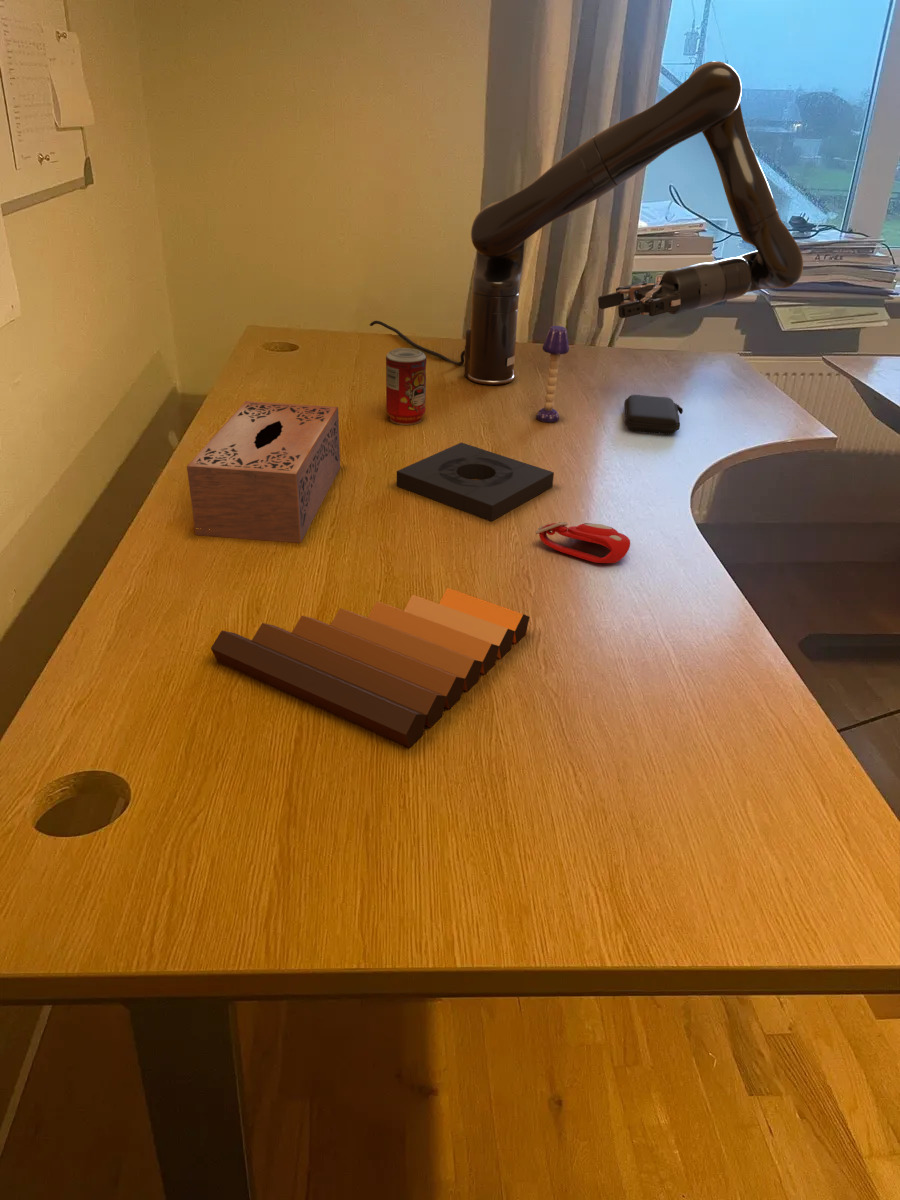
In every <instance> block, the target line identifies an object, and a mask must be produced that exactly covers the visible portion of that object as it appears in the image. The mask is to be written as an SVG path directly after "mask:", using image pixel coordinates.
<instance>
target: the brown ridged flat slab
mask: <svg viewBox="0 0 900 1200" xmlns="http://www.w3.org/2000/svg"><path fill="white" fill-rule="evenodd" d="M530 618H531V617H530V616H529V615H526V614H524V613H521V612H518V611H515V610H513V609H509V608H506V607H504V606H501V605H499V604H495V603H493V602H490V601H486V600H483V599H481V598H478V597H475V596H472V595H470V594H466V593H463V592H460V591H458V590H455V589H452V588H449V587H447V588H446V590H445V592H444V593H443V596H442V597H441V599H440V601H439V603H437V602H435V601H433V600H429V599H427V598H423V597H421V596H418V595H416V594H412V595H411V596H410V598H409V601H408V603H406V606H405V608H404V610H403V609H400V608H398V607H394V606H392V605H390V604H387V603H383V602H381V601H376V602H375V603H374V605H373V607H372V609H371V611H370V613H369V614H368V616H365V615H361V614H359V613H356V612H353V611H350V610H347V609H344V608H341V607H340V608H339V609H338V610H337V612H336V614H335V615H334V617H333V619H332V621H331V623H330V624H328V623H326V622H323V621H321V620H318V619H316V618H313V617H310V616H306V615H301V616H300V617H299V619H298V620H297V622H296V624H295V626H294V628H293V629H292V631H289V630H286V629H284V628H282V627H280V626H277V625H274V624H269V623H265V622H261V624H260V626H259V627H258V629H257V631H256V632H255V634H254V636H253V637H252V639H249V638H247V637H245V636H242V635H240V634H238V633H236V632H231V631H227V630H221V631H219V634H218V636H217V637H216V639H215V640H214V642H213V644H212V646H211V647H210V650H211V651H212V654H213V655H214V657H215V660H216V662H218V663H220V664H222V665H224V666H227V667H229V668H231V669H233V670H235V671H238V672H240V673H242V674H245V675H246V676H249V677H251V678H252V679H253V678H254V679H255V680H258V681H260V682H262V683H265V684H266V685H269V686H271V687H273V688H275V689H278V690H280V691H282V692H284V693H287V694H289V695H291V696H294V697H296V698H298V699H300V700H302V701H304V702H306V703H309V704H311V705H312V706H315V707H318V708H319V709H323V710H324V711H327V712H329V713H331V714H333V715H336V716H338V717H340V718H342V719H345V720H346V721H349V722H350V723H353V724H356V725H357V726H360V727H362V728H364V729H367V730H368V731H371V732H372V733H375V734H378V735H379V736H382V737H384V738H386V739H389V740H391V741H394V742H396V743H397V744H399V745H402V746H404V747H407V748H408V749H410V748H412V747H413V746H414V745H415V744H416V743H417V742H418V741H419V740H420V739H421V738H422V737H423V735H424V731H425V727H426V728H429V729H431V728H432V727H433V726H434V725H435V724H436V723H437V722H438V721H439V720H440V719H441V718H442V717H443V715H444V709H448V710H451V708H452V707H453V706H455V705H456V703H458V702H459V701H460V700H461V699H462V695H463V691H465V692H469V691H470V690H471V689H473V687H474V686H475V685H476V684H477V683H478V682H479V679H480V675H481V674H482V675H487V673H489V672H490V670H492V668H494V666H495V665H496V662H497V658H498V659H500V660H501V659H503V657H505V656H506V655H507V654H508V653H509V652H510V651H511V650H512V645H513V644H516V645H517V644H518V643H519V642H520V641H521V640H522V639H523V638H524V637H525V636H526V635H527V630H528V626H529V621H530Z"/></svg>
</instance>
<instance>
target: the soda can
mask: <svg viewBox="0 0 900 1200" xmlns="http://www.w3.org/2000/svg"><path fill="white" fill-rule="evenodd" d="M426 369H427V355H426V354H425V353H424V351H422V350H420V349H418V348H411V347H398V348H393V349H392V350H390V351H389V352H388V353H387V354H386V355H385V371H386V372H385V385H386V387H385V392H386V393H385V395H386V396H385V401H386V402H385V403H386V404H385V406H386V407H385V409H386V413H387V414H388V416H389V420H390V422H391V423H393V424H397V425H402V426H408V425H409V426H411V425H417V424H419V423H420V422H422V418H423V416H424V415H425V413H426V409H427V408H426V405H427V404H426V401H427V399H426V398H427V373H426V372H427V370H426Z"/></svg>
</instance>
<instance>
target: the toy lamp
mask: <svg viewBox="0 0 900 1200" xmlns="http://www.w3.org/2000/svg"><path fill="white" fill-rule="evenodd" d="M569 345H570V344H569V337H568V330H567V328H566V327H565V326H562V325H551V326H550V327H549V328H548V331H547V333H546V336H545V339H544V342H543V344H542V348H541V349H542V351H543V352H545V353H547V354H549V357H550V358H549V359H550V360H549V361H548V362H549V364H548V365H549V367H548V375H547V379H546V384H547V385H546V388H545V392H546V393H545V395H544V400H545V401H544V402H543V406H544V407H543V408H540V409H538V411H537V413H536V415H535V418H536V419H537V420H538V421H540V422H542V423H549V424H550V423H556V422H559V420H560V414H559V412H558V411H557V410H556V409H555V408H554V401H555V396H556V395H555V393H556V390H557V386H556V385H557V383H558V377H557V376H558V375H559V374H558V373H559V369H558V368H559V365H560V360H559V359H560V358H561V355H565V354H568V353H569V351H570V346H569Z"/></svg>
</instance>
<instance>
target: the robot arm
mask: <svg viewBox="0 0 900 1200" xmlns="http://www.w3.org/2000/svg"><path fill="white" fill-rule="evenodd" d="M741 97H742V81H741V78H740V75H739V74H738V73H737V71H736V70H735V69H734V67H732V66H731V65H729V64H728V63H726V62H724V61H718V60H712V61H707V62H705V63H703V64H700V65H699V66H697V67H696V68H695V69H694V70H693V71H692V73H690V75H689V77H688V78H687V79H686V80H685V81H683V82H682V83H681V84H680V85H679V86H677V87H676V88H675V89H674V90H672V91H671V92H669V93H668V94H667V95H666V96H664V97H663V98H662V99H660V100H659V101H658V102H656V103H655V104H653V105H652V106H650V107H649V108H647V109H645V110H642V111H641V112H639V113H637V114H635V115H632V116H630V117H628V118H625V119H623V120H621V121H619V122H616V123H615V124H612V125H610V126H609V127H606V129H604V130H602V131H600V132H598V133H597V134H595V135H594V136H592V137H590V138H589V139H588V140H586V141H584V142H583V143H581V144H580V145H578V146H576V148H574V149H572V150H571V151H570V152H568V153H567V154H566V155H564V157H562V158H561V159H559V160H558V161H557V162H556V163H555V164H553V165H552V166H551V167H549V168H548V169H547V170H546V171H545V172H544V173H543V174H542V175H540V176H539V177H538V178H537V179H535V180H534V181H533V182H532V183H530V184H529V185H528V186H526V187H524V188H523V189H521V190H520V191H518V192H515V193H514V194H512V195H510V196H508V197H506V198H505V199H502V200H498V201H494V202H492V203H490V204H488V205H487V206H485V207H484V208H483V209H481V210H480V211H479V212H478V213H477V214H476V216H475V217H474V219H473V221H472V225H471V230H470V238H471V243H472V245H473V247H474V249H475V250H476V260H475V268H474V272H473V275H472V279H471V281H472V282H471V303H470V304H471V306H470V307H471V308H470V309H471V310H470V327H469V328H467V329H466V330H465V345H464V350H463V351H462V352H461V353H460V361H459V362H458V361H454V360H452V359H450V358H448V357H447V356H444V355H443V354H441V353H439V352H436V351H434V350H431V349H429V348H426V347H423V346H421V345H419V344H417V343H415V342H414V341H412V340H411V339H410V338H409V337H408V336H406V335H405V334H404V333H403V332H400V330H398V329H396V328H395V327H393V326H391V325H388V324H387V323H385V322H383V321H381V320H373V321H372V322H370V324H369V326H370V327H373V326H374V325H381V326H382V327H384V328H386V329H388V330H390V331H392V332H394V333H396V334H397V335H398V336H399V337H400V338H402V339H403V340H404V341H406V342H407V343H408V344H409V345H411V346H412V347H414V348H415V349H417V350H420V351H421V352H425V353H427V354H430V355H433V356H435V357H438V358H440V359H442V360H443V361H445V362H448V363H451V364H455V365H457V366H463V365H464V370H463V371H464V373H463V376H464V377H465V378H468V380H469V381H471V382H474V383H477V384H481V385H489V386H497V385H498V386H500V385H506V384H509V383H511V382H513V381H514V377H515V375H514V374H515V373H514V372H515V364H516V343H517V328H518V313H519V298H520V286H521V280H522V274H523V269H524V267H523V266H524V256H525V245H526V240H528V239H529V238H530V237H532V236H533V235H534V234H536V233H537V232H538V231H540V230H541V229H543V228H544V227H546V226H547V225H549V224H550V223H552V222H554V221H555V220H557V219H559V218H562V217H565V216H566V215H569V214H571V213H573V212H574V211H577V210H578V209H580V208H583V207H584V206H586V205H588V204H590V203H592V202H594V201H596V200H598V199H599V198H601V197H603V196H604V195H606V194H608V193H609V192H611V191H612V190H614V189H615V188H617V187H619V186H621V185H622V184H623V183H625V182H626V181H628V180H629V179H631V178H632V177H633V176H635V175H636V174H638V173H640V171H642V170H643V169H645V168H646V167H647V166H648V165H650V164H651V163H653V162H654V161H655V160H656V159H658V158H659V157H660V156H661V155H663V154H664V153H666V152H667V151H669V150H671V149H672V148H673V147H675V146H677V145H678V144H681V143H683V142H685V141H686V140H688V139H690V138H692V137H694V136H696V135H698V134H701V133H702V134H703V136H704V138H705V141H706V142H707V144H708V146H709V149H710V151H711V153H712V157H713V158H714V161H715V164H716V166H717V167H716V168H717V170H718V174H719V176H720V179H721V180H720V181H721V183H722V186H723V190H724V193H725V196H726V199H727V203H728V206H729V209H730V211H731V215H732V217H733V221H734V223H735V225H736V228H737V231H738V233H739V236H740V238H741V239H742V240H743V242H745V243H746V244H749V245H752V246H753V247H754V248H755V249H756V250H755V251H751V252H747V253H745V254H742V255H739V256H736V257H735V256H734V257H729V258H724V259H720V260H715V261H710V262H700V263H695V264H692V265H687V266H683V267H679V268H674V269H671V270H667V271H665V272H664V273H663V274H662V276H661V279H660V281H659V282H658V284H656V283H655V282H650V283H648V281H642V282H638V283H633V284H628V285H623V286H618V287H616V288H615V292H612V293H611V292H610V293H607V294H603V295H599V296H598V298H597V303H598V304H597V305H598V308H599V309H601V310H606V309H610V308H613V307H617V311H618V317H619V318H620V319H625V318H630V317H634V316H638V315H640V316H646V315H648V316H649V317H655V316H658V315H659V316H660V315H662V314H666V313H669V314H671V315H678V314H683V313H685V312H688V311H689V312H690V311H693V310H694V311H695V310H698V309H703V308H706V307H709V306H712V305H715V304H717V303H721V302H725V301H729V300H733V299H737V298H740V297H742V296H744V295H746V294H747V293H750V292H755V291H761V290H767V289H769V290H771V289H772V290H773V289H787V288H790V287H792V286H794V285H796V284H797V283H798V281H799V280H800V279H801V277H802V274H803V271H804V257H803V254H802V251H801V249H800V246H799V244H798V243H797V241H796V240H795V238H794V237H793V234H791V232H790V231H789V229H788V227H787V226H786V224H785V223H784V222H783V221H782V219H781V217H780V214H779V211H778V207H777V205H776V202H775V199H774V197H773V194H772V191H771V188H770V185H769V182H768V181H767V178H766V176H765V174H764V171H763V168H762V167H761V165H760V162H759V160H758V157H757V156H756V153H755V151H754V149H753V146H752V143H751V141H750V138H749V135H748V132H747V129H746V125H745V121H744V117H743V110H742V105H741ZM625 295H627V296H625Z"/></svg>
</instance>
